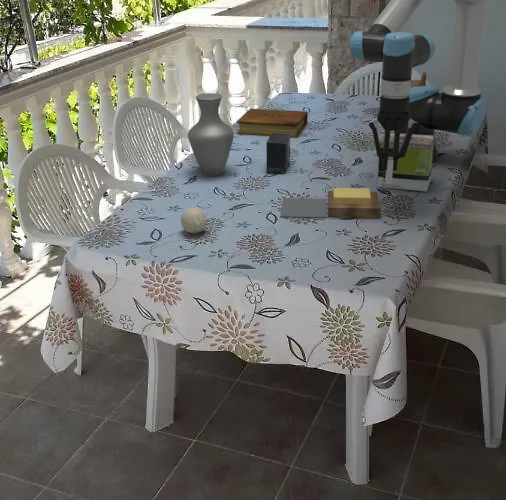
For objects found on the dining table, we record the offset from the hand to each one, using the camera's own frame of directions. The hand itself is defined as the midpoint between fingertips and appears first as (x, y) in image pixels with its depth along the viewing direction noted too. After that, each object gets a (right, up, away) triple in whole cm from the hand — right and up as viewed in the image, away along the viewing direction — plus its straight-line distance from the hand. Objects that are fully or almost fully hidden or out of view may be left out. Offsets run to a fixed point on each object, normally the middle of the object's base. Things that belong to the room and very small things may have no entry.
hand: (388, 181), depth 189 cm
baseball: (-52, -14, -6) cm, 55 cm away
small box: (-29, +8, +37) cm, 47 cm away
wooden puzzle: (+24, +33, +85) cm, 95 cm away
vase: (-50, +6, +34) cm, 61 cm away
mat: (-23, -7, +6) cm, 25 cm away
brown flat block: (-9, -7, +5) cm, 13 cm away
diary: (-29, +27, +77) cm, 86 cm away
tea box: (+9, +1, +21) cm, 23 cm away
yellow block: (-10, -5, +4) cm, 11 cm away
